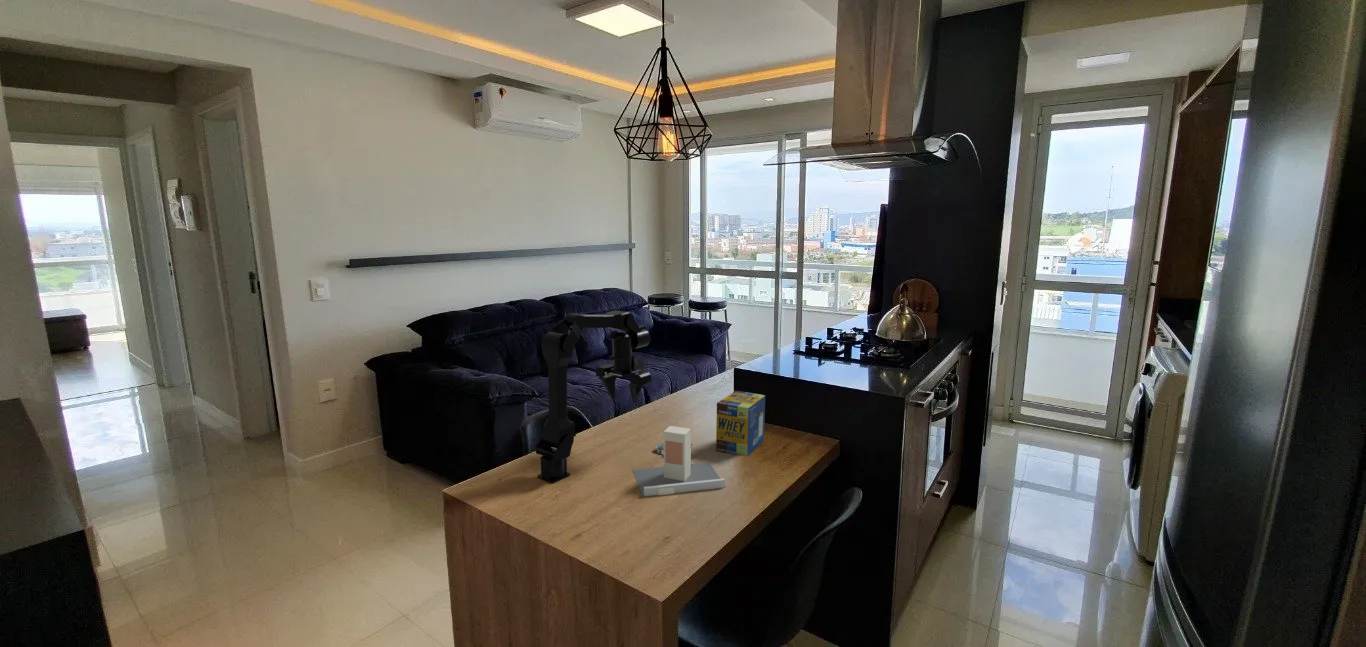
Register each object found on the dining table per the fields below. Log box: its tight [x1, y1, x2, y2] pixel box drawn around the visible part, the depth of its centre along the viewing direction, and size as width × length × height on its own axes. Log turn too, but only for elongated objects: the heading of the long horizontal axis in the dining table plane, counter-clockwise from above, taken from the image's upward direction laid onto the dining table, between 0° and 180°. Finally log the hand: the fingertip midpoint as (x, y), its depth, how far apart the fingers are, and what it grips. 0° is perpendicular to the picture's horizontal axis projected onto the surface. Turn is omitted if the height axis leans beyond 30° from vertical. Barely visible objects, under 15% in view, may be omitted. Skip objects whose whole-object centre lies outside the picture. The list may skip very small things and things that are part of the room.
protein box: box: [715, 390, 766, 457], centre depth 177 cm, size 10×15×16 cm
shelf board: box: [632, 461, 727, 497], centre depth 151 cm, size 22×16×4 cm
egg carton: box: [654, 442, 693, 456], centre depth 171 cm, size 11×8×4 cm
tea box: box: [663, 425, 692, 481], centre depth 152 cm, size 6×5×13 cm
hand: (623, 401), depth 175 cm, fingers open, 9 cm apart
